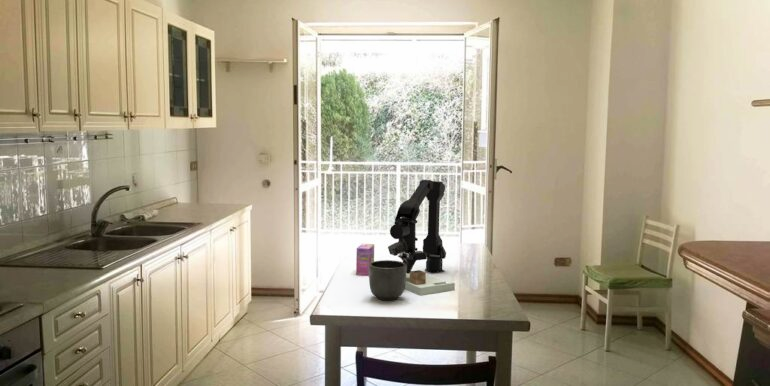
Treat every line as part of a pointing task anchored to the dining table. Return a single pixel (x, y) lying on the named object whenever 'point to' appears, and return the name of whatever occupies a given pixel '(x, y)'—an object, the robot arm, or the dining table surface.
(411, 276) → the block
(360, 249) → the box
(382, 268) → the planter
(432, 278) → the trap tray
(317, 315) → the dining table surface
